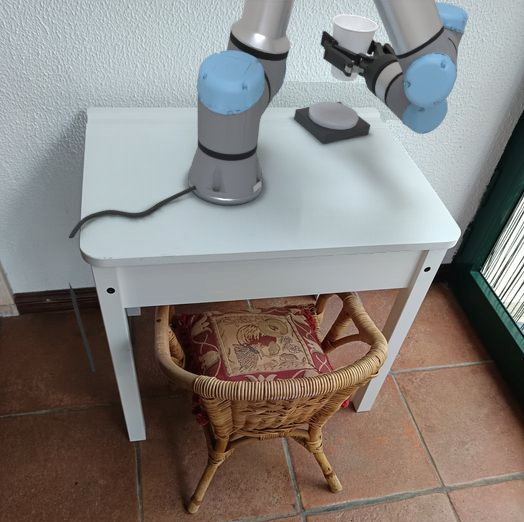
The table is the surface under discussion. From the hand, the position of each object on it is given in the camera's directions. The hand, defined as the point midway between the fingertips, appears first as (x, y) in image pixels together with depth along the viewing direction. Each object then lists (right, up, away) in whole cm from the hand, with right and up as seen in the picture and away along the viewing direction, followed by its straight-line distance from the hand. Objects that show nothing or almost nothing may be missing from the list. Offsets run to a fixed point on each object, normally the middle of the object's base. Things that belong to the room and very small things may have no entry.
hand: (341, 37), depth 111 cm
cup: (+1, -8, +3) cm, 8 cm away
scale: (-1, -15, +12) cm, 19 cm away
